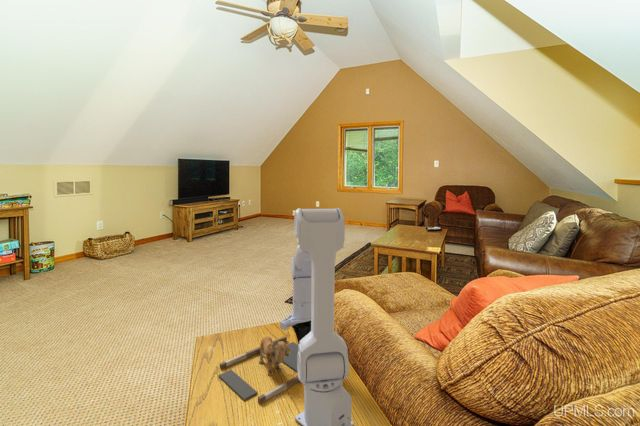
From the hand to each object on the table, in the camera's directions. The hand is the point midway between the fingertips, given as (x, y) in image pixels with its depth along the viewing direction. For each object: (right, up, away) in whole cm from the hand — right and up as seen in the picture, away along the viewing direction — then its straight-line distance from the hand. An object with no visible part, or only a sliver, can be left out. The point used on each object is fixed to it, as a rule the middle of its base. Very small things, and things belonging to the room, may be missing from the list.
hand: (302, 345), depth 94 cm
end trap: (-15, -4, -14) cm, 21 cm away
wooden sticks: (-7, -3, -7) cm, 10 cm away
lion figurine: (-8, -3, -6) cm, 10 cm away
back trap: (-2, -2, -2) cm, 4 cm away
